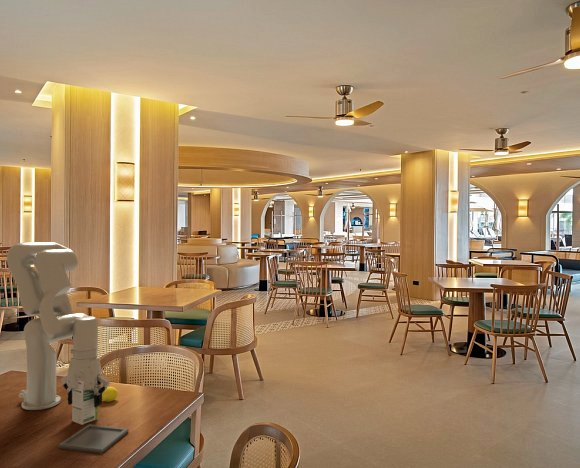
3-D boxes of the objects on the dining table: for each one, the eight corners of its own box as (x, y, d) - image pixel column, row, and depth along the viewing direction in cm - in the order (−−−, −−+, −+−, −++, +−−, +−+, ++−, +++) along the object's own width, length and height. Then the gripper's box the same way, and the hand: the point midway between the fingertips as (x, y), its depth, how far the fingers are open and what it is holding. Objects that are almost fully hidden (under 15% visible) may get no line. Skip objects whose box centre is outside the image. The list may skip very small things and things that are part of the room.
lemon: (115, 398, 173) (117, 384, 174) (119, 403, 169) (121, 388, 170) (96, 399, 169) (98, 385, 170) (99, 404, 165) (102, 389, 165)
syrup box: (82, 425, 148) (82, 381, 148) (71, 421, 152) (72, 377, 151) (97, 419, 153) (98, 376, 153) (87, 415, 156) (87, 373, 156)
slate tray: (59, 448, 133) (59, 444, 133) (88, 427, 147) (88, 424, 146) (102, 453, 130) (102, 449, 130) (128, 432, 144) (128, 428, 144)
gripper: (54, 355, 150) (54, 406, 150) (102, 358, 147) (101, 411, 147) (69, 349, 157) (69, 398, 158) (115, 352, 154) (114, 402, 154)
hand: (84, 404), depth 152 cm, fingers open, 9 cm apart
